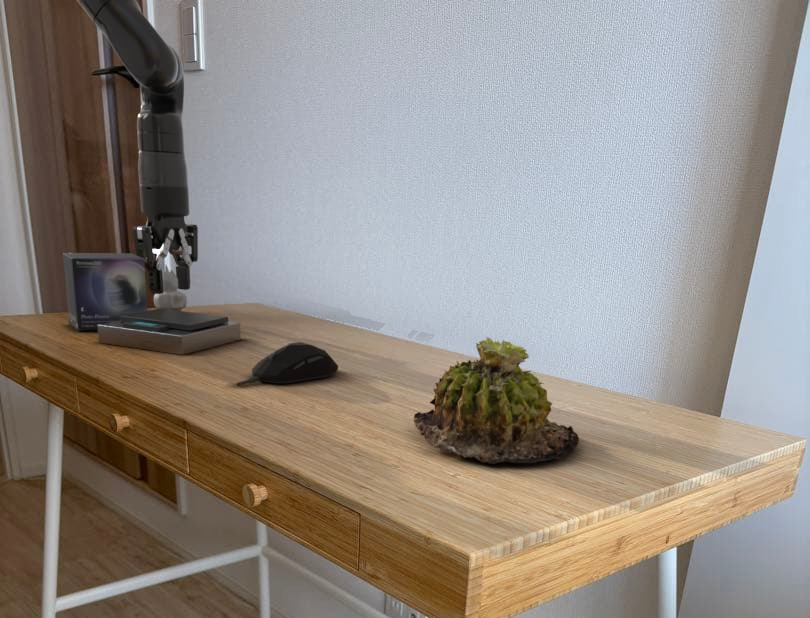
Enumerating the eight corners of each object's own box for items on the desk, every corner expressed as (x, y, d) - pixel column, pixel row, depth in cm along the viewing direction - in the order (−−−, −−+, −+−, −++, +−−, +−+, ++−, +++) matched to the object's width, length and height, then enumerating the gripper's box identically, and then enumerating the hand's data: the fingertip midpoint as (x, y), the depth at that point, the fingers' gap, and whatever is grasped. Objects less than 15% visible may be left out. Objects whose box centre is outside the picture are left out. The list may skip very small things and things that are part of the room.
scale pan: (119, 321, 117) (119, 315, 116) (160, 313, 124) (160, 308, 124) (191, 330, 113) (191, 324, 112) (228, 322, 120) (228, 316, 120)
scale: (98, 342, 115) (96, 319, 114) (162, 329, 127) (161, 308, 126) (183, 355, 110) (181, 330, 109) (240, 339, 122) (240, 317, 121)
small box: (78, 332, 121) (70, 256, 117) (68, 325, 126) (60, 252, 122) (150, 329, 127) (145, 256, 122) (138, 322, 132) (133, 252, 127)
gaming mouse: (220, 381, 98) (219, 346, 96) (313, 365, 108) (314, 334, 106) (255, 391, 94) (254, 355, 92) (348, 374, 104) (348, 342, 103)
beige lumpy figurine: (176, 310, 145) (173, 262, 141) (196, 315, 140) (193, 266, 137) (147, 312, 141) (144, 263, 138) (166, 318, 137) (163, 267, 134)
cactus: (601, 470, 74) (617, 359, 70) (422, 466, 72) (429, 354, 68) (552, 418, 89) (563, 326, 86) (405, 414, 88) (409, 320, 84)
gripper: (172, 183, 140) (178, 285, 147) (114, 181, 128) (123, 293, 134) (209, 185, 138) (214, 289, 144) (154, 184, 125) (161, 297, 132)
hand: (170, 291), depth 139 cm, fingers open, 6 cm apart
